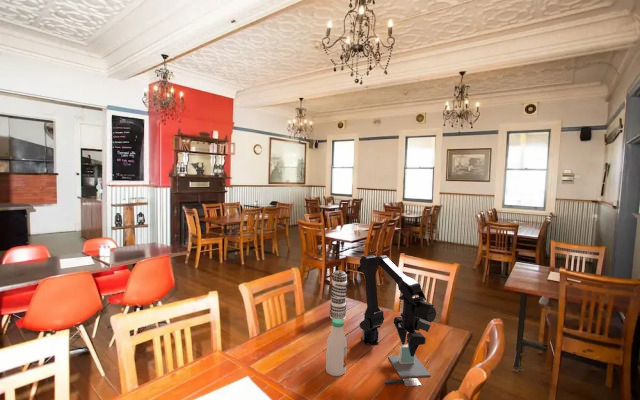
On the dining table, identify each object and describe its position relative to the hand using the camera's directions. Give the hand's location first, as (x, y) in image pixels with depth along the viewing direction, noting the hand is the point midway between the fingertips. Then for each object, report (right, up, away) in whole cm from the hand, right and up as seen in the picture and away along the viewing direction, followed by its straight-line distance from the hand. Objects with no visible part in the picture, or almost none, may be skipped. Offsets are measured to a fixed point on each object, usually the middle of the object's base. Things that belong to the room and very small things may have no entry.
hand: (407, 350), depth 133 cm
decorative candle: (-26, -2, +42) cm, 50 cm away
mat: (0, -6, -1) cm, 6 cm away
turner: (-5, -7, -12) cm, 15 cm away
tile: (0, -5, +1) cm, 5 cm away
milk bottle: (-30, -5, -6) cm, 31 cm away
